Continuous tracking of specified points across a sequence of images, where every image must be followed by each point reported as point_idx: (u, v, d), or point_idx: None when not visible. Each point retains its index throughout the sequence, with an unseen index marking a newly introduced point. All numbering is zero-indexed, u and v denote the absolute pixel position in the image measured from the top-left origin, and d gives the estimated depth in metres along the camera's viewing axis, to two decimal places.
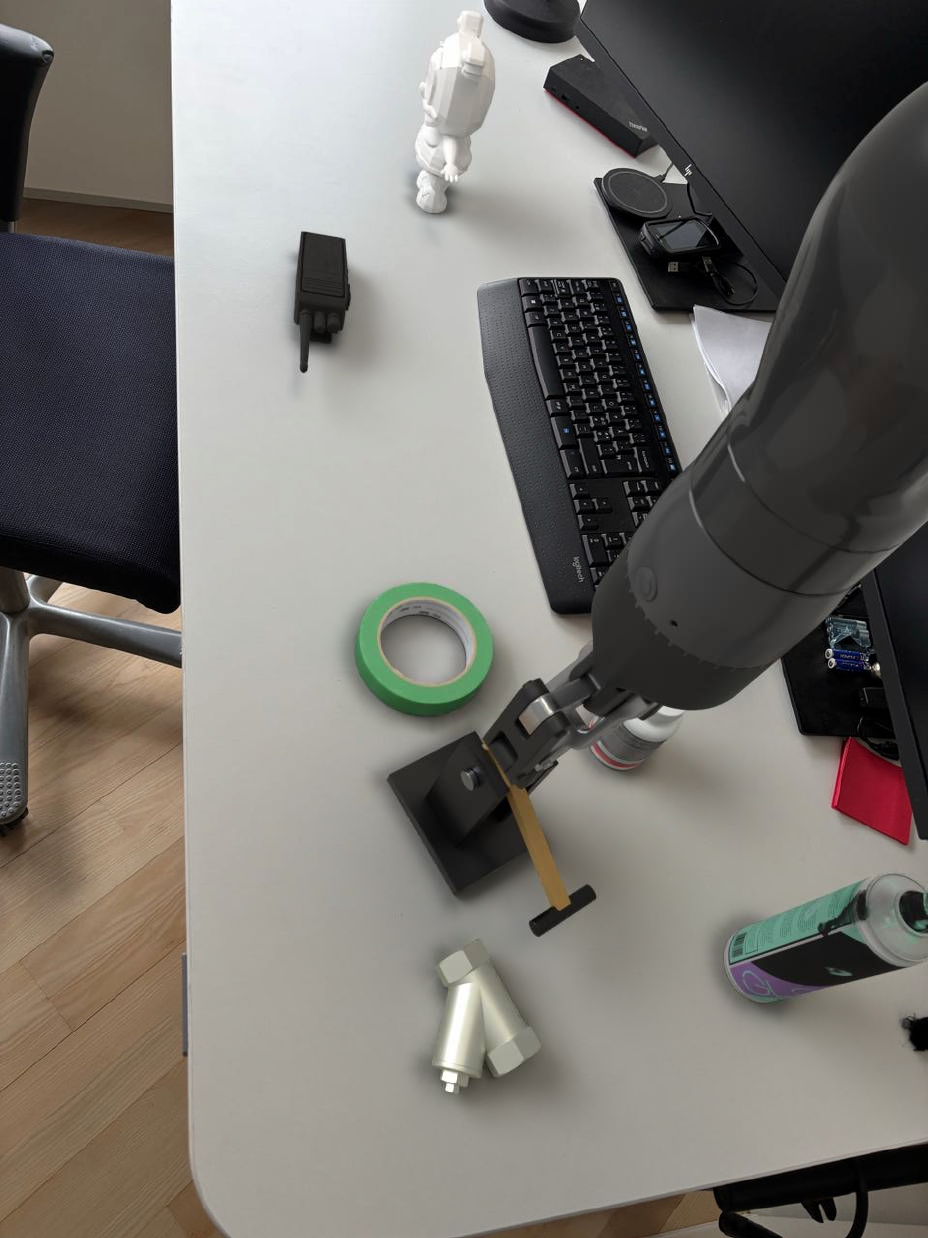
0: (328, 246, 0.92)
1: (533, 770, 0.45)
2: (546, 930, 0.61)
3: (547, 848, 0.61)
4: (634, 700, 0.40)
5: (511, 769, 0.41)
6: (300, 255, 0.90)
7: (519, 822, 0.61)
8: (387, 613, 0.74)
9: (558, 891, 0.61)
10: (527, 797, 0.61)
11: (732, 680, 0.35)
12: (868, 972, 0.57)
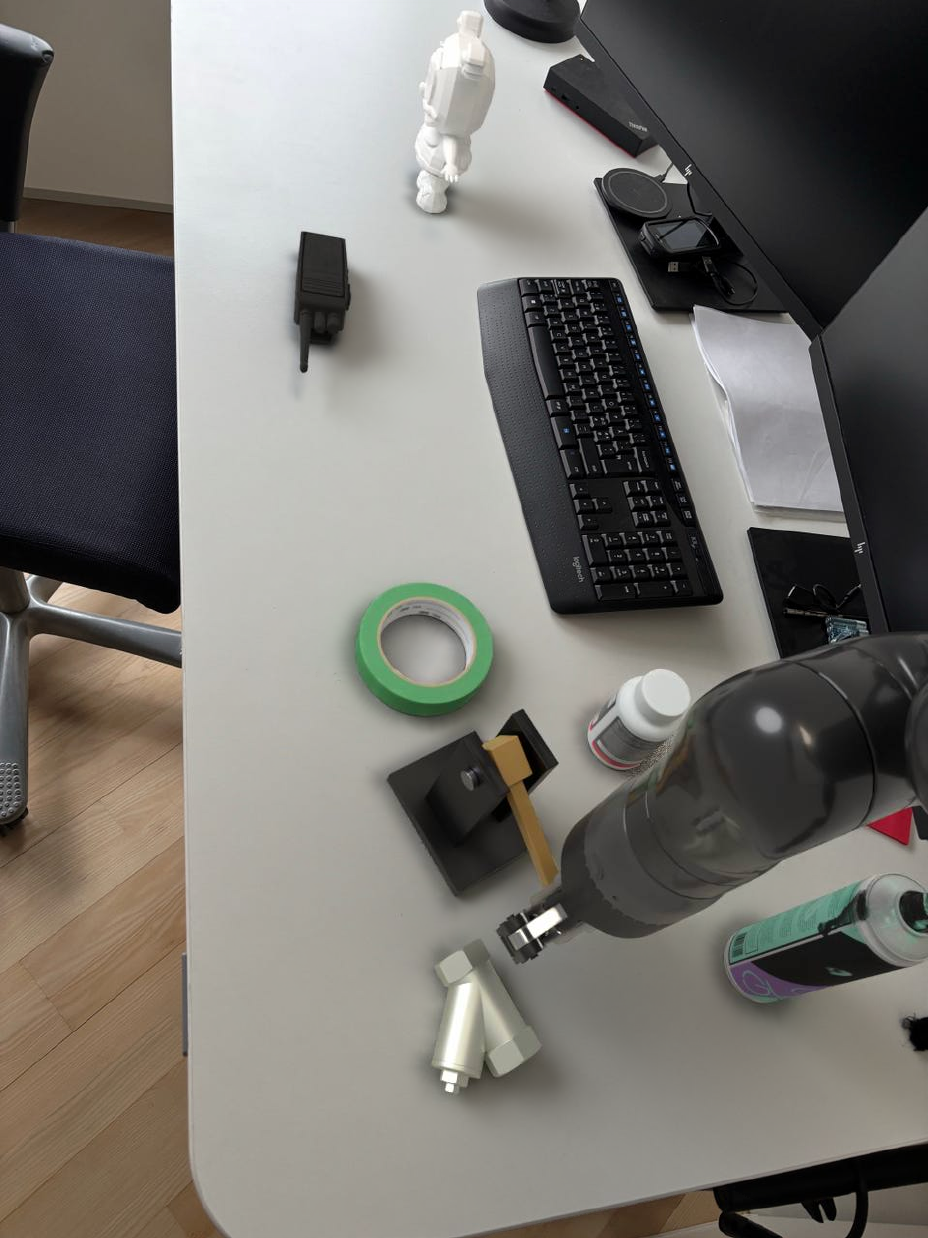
0: (328, 246, 0.92)
1: None
2: None
3: (547, 848, 0.61)
4: None
5: None
6: (300, 255, 0.90)
7: (519, 822, 0.61)
8: (387, 613, 0.74)
9: None
10: (527, 797, 0.61)
11: (659, 928, 0.49)
12: (868, 972, 0.57)
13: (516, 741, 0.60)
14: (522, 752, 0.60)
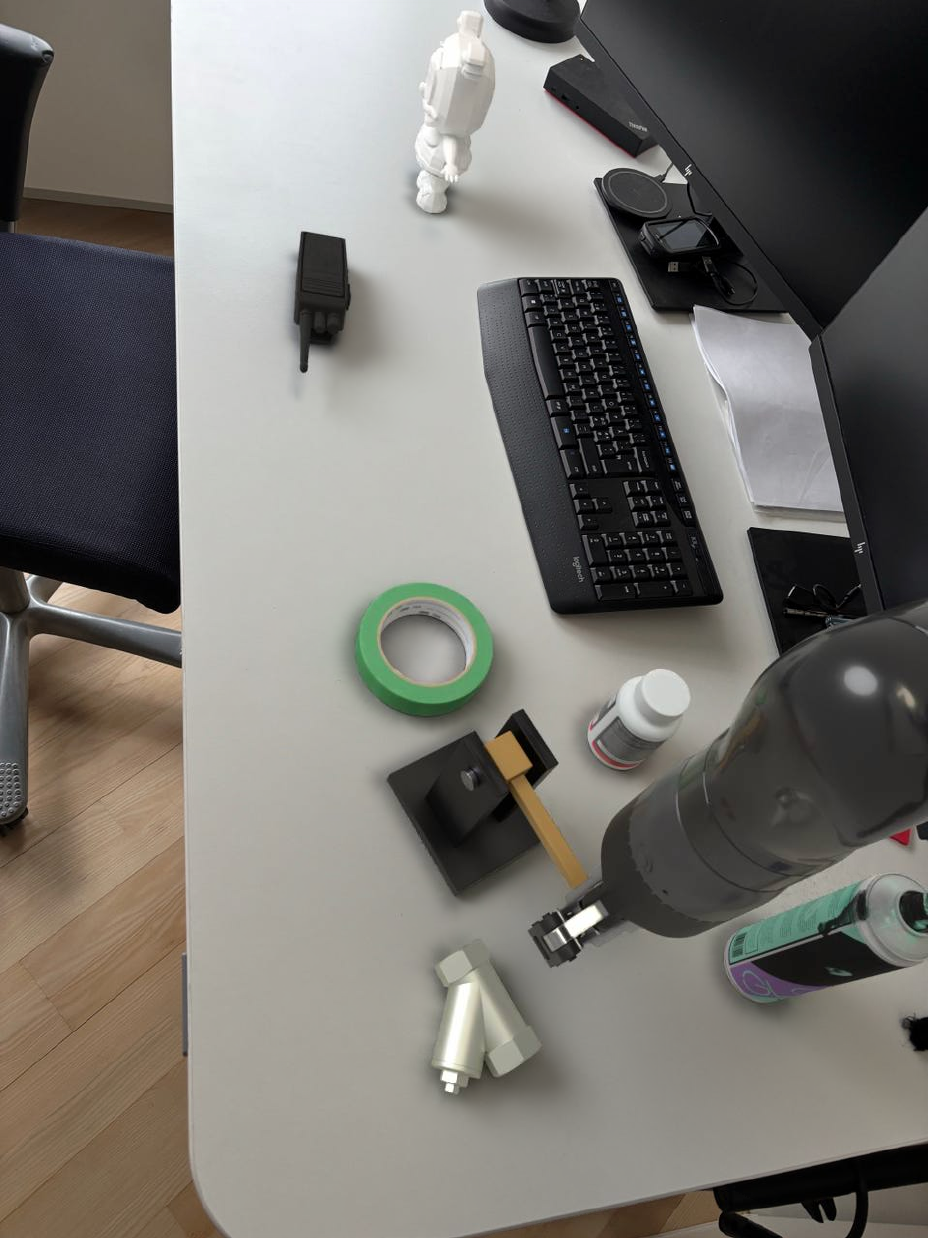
0: (328, 246, 0.92)
1: None
2: None
3: (564, 842, 0.59)
4: None
5: None
6: (300, 255, 0.90)
7: (530, 821, 0.60)
8: (387, 613, 0.74)
9: None
10: (533, 792, 0.60)
11: (712, 925, 0.45)
12: (868, 972, 0.57)
13: (510, 736, 0.61)
14: (518, 745, 0.61)
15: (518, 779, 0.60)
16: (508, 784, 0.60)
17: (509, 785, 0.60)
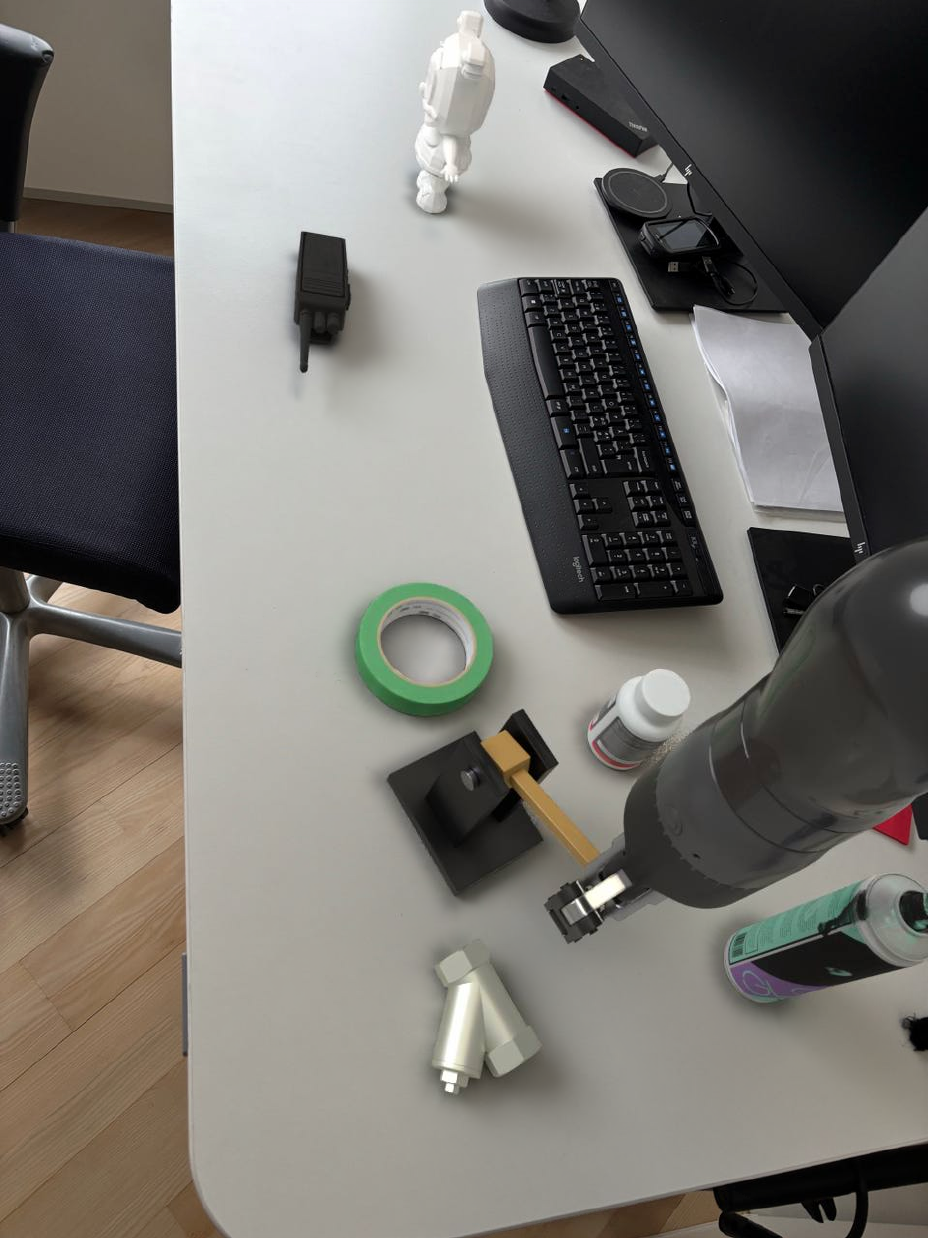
0: (329, 246, 0.92)
1: None
2: None
3: (571, 824, 0.57)
4: None
5: None
6: (300, 255, 0.90)
7: (536, 811, 0.58)
8: (387, 613, 0.74)
9: None
10: (535, 782, 0.59)
11: (745, 894, 0.42)
12: (868, 972, 0.57)
13: (505, 734, 0.61)
14: (514, 741, 0.61)
15: (518, 773, 0.60)
16: (510, 781, 0.60)
17: (511, 781, 0.60)
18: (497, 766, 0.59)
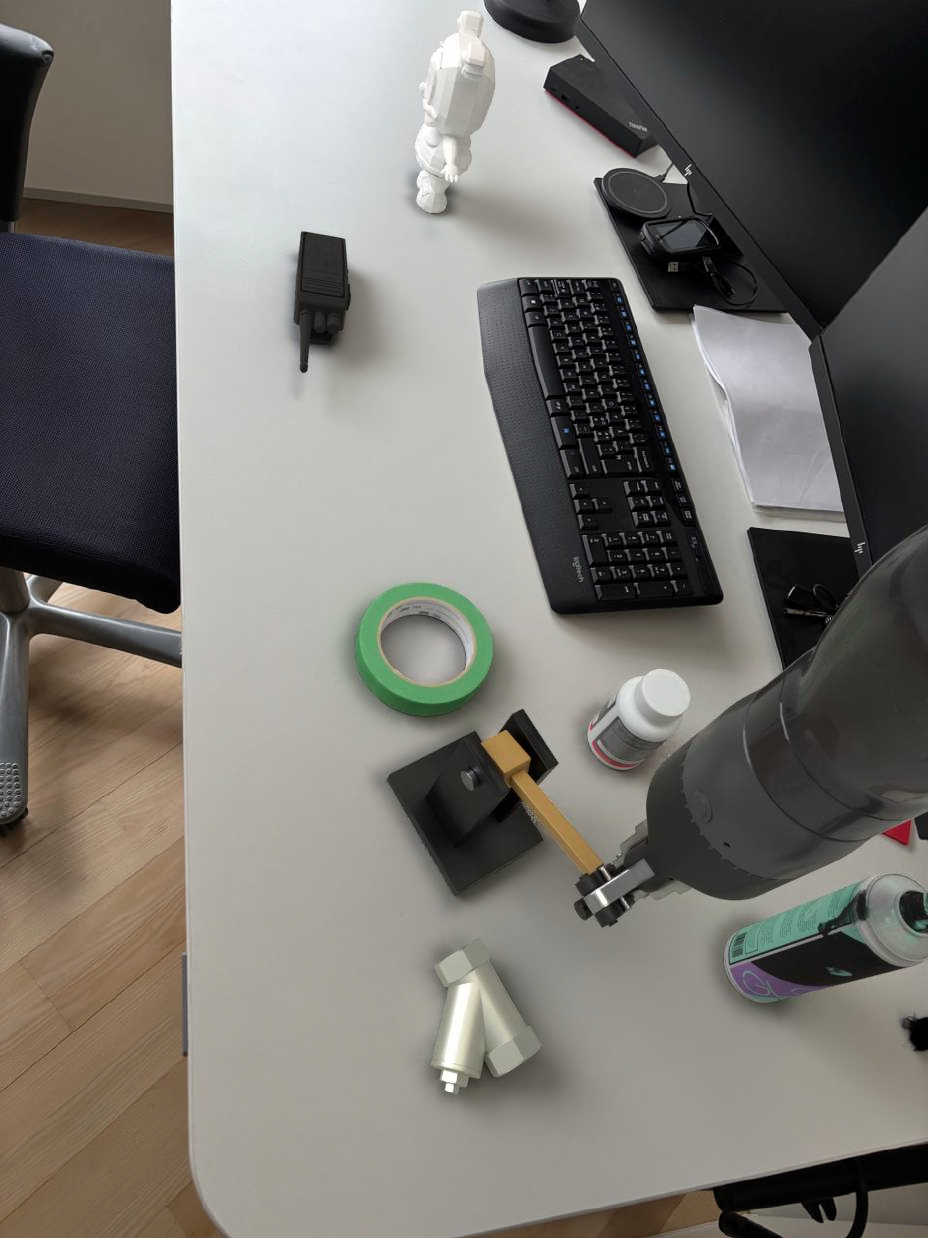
0: (328, 246, 0.92)
1: (631, 895, 0.52)
2: None
3: (571, 827, 0.57)
4: None
5: None
6: (300, 255, 0.90)
7: (535, 813, 0.59)
8: (387, 613, 0.74)
9: (596, 867, 0.56)
10: (535, 784, 0.59)
11: (777, 885, 0.40)
12: (868, 972, 0.57)
13: (506, 734, 0.61)
14: (515, 742, 0.61)
15: (518, 774, 0.60)
16: (510, 781, 0.60)
17: (511, 782, 0.60)
18: (497, 767, 0.59)
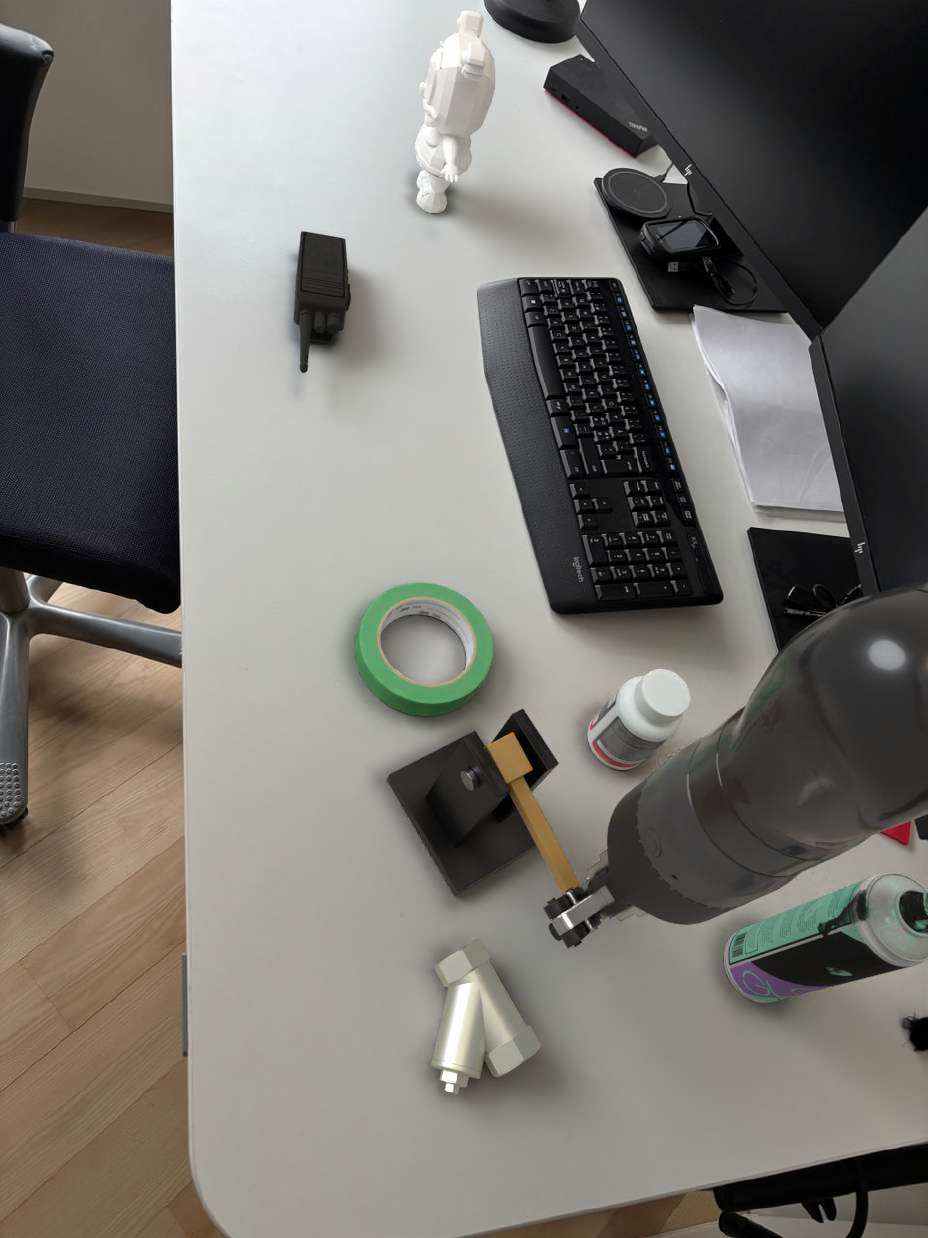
0: (328, 246, 0.92)
1: (599, 915, 0.56)
2: None
3: (558, 846, 0.60)
4: None
5: None
6: (300, 255, 0.90)
7: (526, 823, 0.60)
8: (387, 613, 0.74)
9: None
10: (531, 795, 0.60)
11: (721, 912, 0.44)
12: (868, 972, 0.57)
13: (512, 738, 0.60)
14: (520, 748, 0.60)
15: (517, 781, 0.60)
16: (507, 785, 0.61)
17: None
18: None
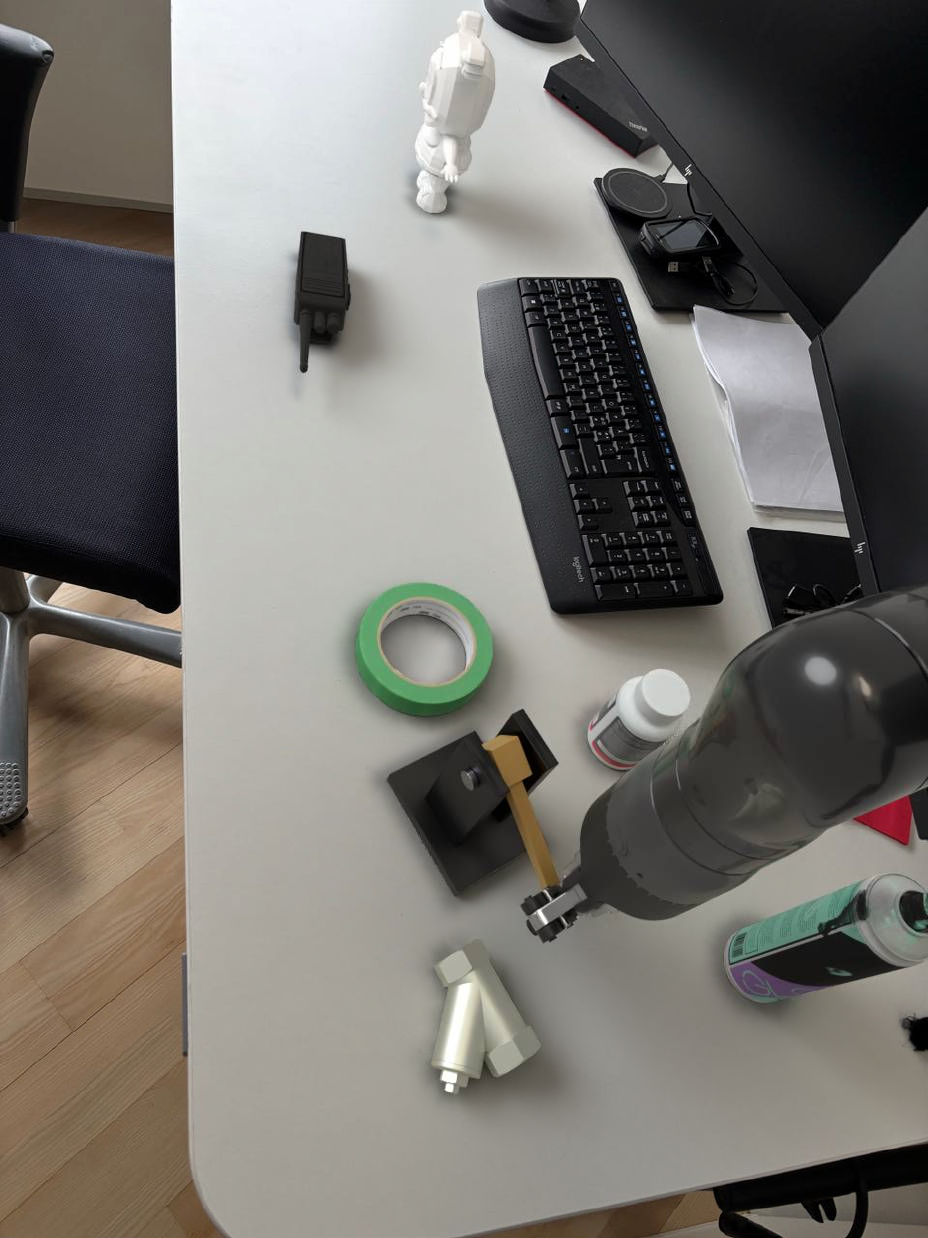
0: (328, 246, 0.92)
1: (576, 912, 0.59)
2: None
3: (545, 848, 0.61)
4: None
5: None
6: (300, 255, 0.90)
7: (518, 822, 0.61)
8: (387, 613, 0.74)
9: None
10: (526, 797, 0.61)
11: (686, 908, 0.46)
12: (868, 972, 0.57)
13: (517, 742, 0.60)
14: (522, 753, 0.60)
15: (515, 783, 0.61)
16: None
17: None
18: None
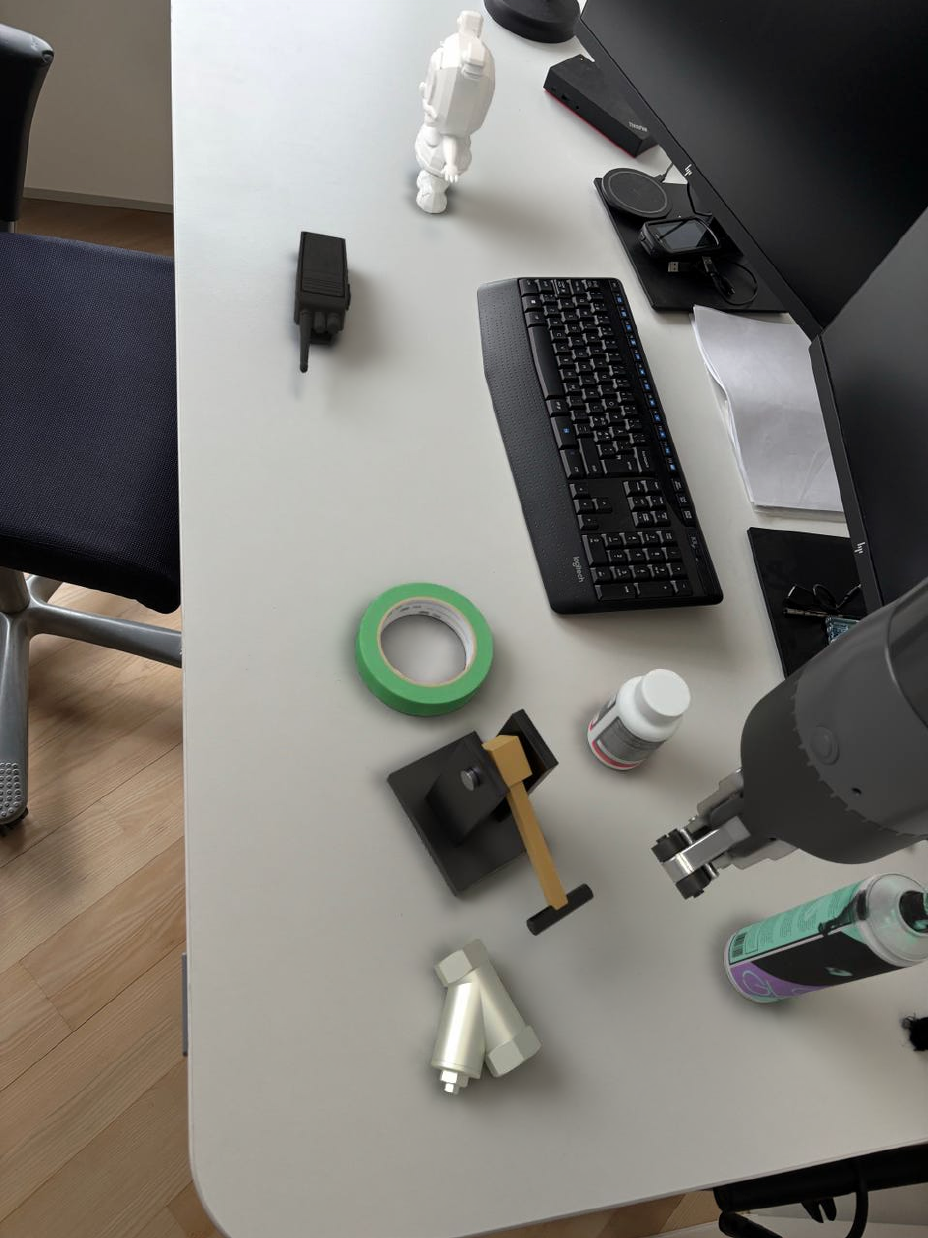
0: (328, 246, 0.92)
1: None
2: (543, 929, 0.61)
3: (545, 848, 0.61)
4: (780, 841, 0.38)
5: None
6: (300, 255, 0.90)
7: (518, 822, 0.61)
8: (387, 613, 0.74)
9: (556, 890, 0.62)
10: (526, 797, 0.61)
11: (910, 843, 0.32)
12: (868, 972, 0.57)
13: (517, 742, 0.60)
14: (522, 753, 0.60)
15: (515, 783, 0.61)
16: None
17: None
18: None
